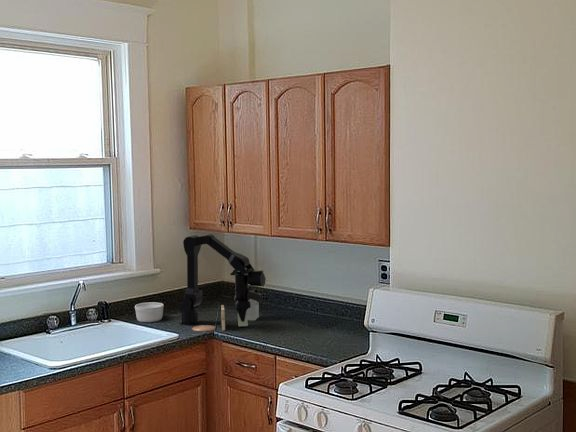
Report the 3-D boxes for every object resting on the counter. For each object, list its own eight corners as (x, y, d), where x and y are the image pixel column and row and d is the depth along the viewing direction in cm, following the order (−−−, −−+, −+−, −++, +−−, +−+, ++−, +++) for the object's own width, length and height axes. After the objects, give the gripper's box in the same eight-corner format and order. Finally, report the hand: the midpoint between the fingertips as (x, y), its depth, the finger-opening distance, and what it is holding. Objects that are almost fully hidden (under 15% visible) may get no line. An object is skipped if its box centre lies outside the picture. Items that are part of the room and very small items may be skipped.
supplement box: (255, 320, 341) (254, 293, 340) (239, 320, 343) (239, 293, 341) (259, 317, 348) (258, 290, 347) (244, 316, 350) (243, 290, 349)
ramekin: (170, 319, 349) (169, 304, 349) (147, 324, 339) (147, 309, 338) (151, 315, 358) (151, 301, 357) (129, 320, 348) (128, 305, 347)
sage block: (247, 325, 327) (247, 310, 327) (238, 326, 327) (238, 310, 326) (247, 323, 331) (246, 308, 331) (238, 324, 331) (237, 308, 330)
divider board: (225, 330, 323) (224, 309, 323) (222, 330, 323) (221, 309, 323) (224, 325, 333) (223, 305, 333) (221, 325, 333) (221, 305, 332)
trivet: (187, 330, 325) (187, 329, 325) (199, 325, 334) (199, 324, 334) (208, 332, 321) (208, 331, 321) (219, 327, 330) (219, 326, 330)
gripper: (261, 288, 319) (262, 324, 321) (258, 281, 338) (259, 315, 339) (235, 289, 318) (236, 325, 319) (233, 282, 337) (234, 316, 338)
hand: (242, 320), depth 329 cm, fingers closed on sage block, 4 cm apart
